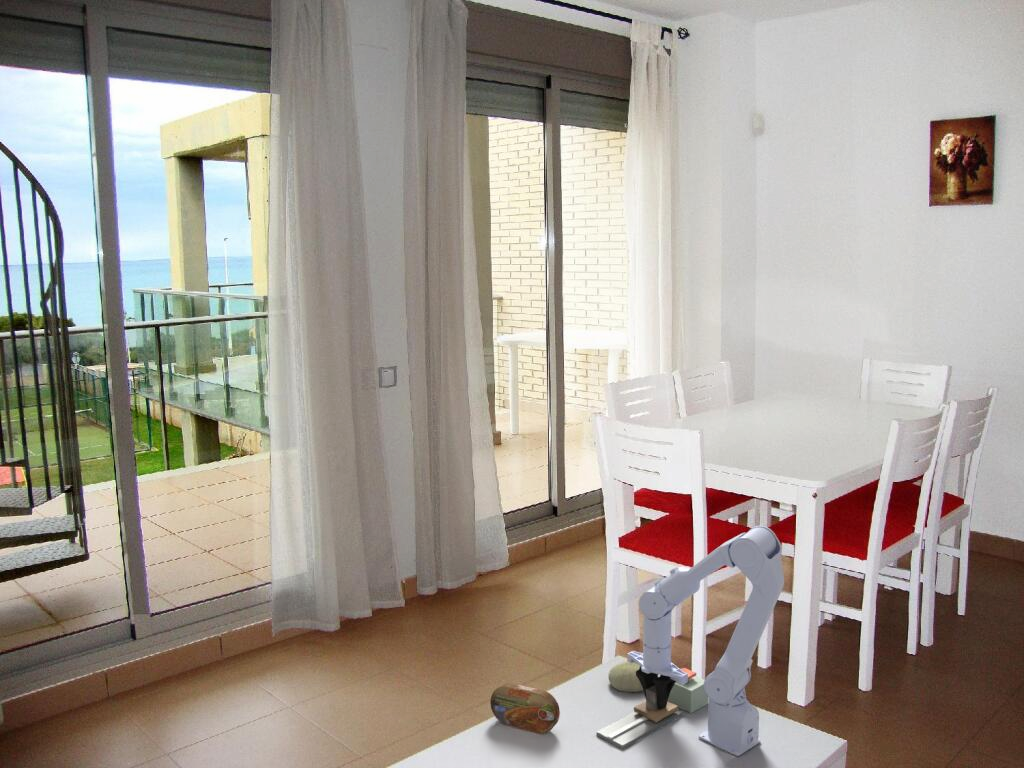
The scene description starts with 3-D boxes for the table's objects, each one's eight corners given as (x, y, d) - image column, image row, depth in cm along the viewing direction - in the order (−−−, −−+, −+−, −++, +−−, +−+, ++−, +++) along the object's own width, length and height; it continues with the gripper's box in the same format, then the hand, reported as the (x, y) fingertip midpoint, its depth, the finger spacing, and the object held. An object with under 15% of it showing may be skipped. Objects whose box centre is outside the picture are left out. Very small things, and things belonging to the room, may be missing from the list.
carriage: (677, 710, 190) (678, 688, 190) (656, 722, 186) (656, 699, 185) (655, 700, 195) (655, 678, 194) (633, 711, 190) (634, 688, 189)
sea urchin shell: (598, 671, 207) (621, 644, 208) (621, 691, 209) (643, 664, 210) (615, 690, 198) (638, 662, 199) (638, 710, 201) (661, 682, 202)
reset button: (696, 682, 196) (696, 672, 196) (686, 687, 194) (686, 677, 193) (683, 676, 198) (683, 667, 198) (673, 682, 196) (673, 672, 196)
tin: (489, 721, 190) (489, 683, 188) (497, 714, 193) (496, 677, 191) (555, 738, 183) (555, 699, 182) (561, 731, 186) (561, 692, 184)
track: (683, 715, 191) (683, 710, 191) (622, 749, 178) (622, 743, 178) (657, 703, 196) (657, 698, 196) (596, 735, 184) (596, 729, 183)
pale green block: (708, 703, 196) (708, 681, 195) (690, 713, 192) (691, 690, 191) (678, 690, 202) (678, 668, 201) (661, 699, 198) (661, 677, 197)
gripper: (617, 637, 191) (617, 698, 193) (672, 660, 180) (671, 724, 182) (639, 628, 195) (639, 687, 198) (694, 650, 185) (693, 712, 187)
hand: (656, 704), depth 190 cm, fingers closed on carriage, 2 cm apart
